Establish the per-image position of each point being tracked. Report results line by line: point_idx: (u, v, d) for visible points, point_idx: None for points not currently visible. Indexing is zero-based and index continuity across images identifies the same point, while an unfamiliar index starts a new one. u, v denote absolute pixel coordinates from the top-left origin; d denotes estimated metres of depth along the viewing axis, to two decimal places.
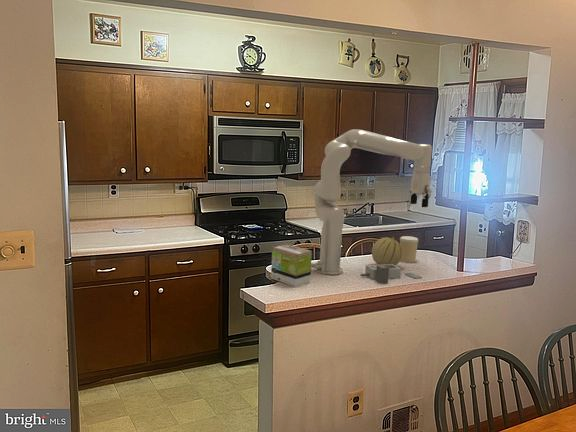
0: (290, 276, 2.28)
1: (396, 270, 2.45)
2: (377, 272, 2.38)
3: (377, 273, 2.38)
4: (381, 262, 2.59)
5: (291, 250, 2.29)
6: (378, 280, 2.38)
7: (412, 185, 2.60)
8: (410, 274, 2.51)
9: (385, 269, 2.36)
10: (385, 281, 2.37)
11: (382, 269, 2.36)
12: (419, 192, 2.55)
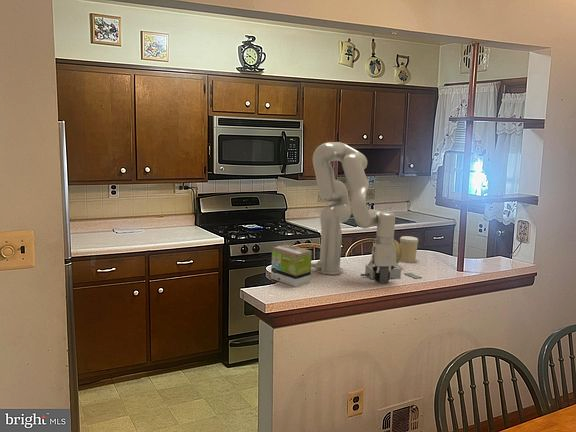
0: (290, 276, 2.28)
1: (396, 270, 2.45)
2: None
3: None
4: None
5: (291, 250, 2.29)
6: None
7: (380, 259, 2.34)
8: (410, 274, 2.51)
9: (385, 269, 2.36)
10: (385, 281, 2.37)
11: (382, 269, 2.36)
12: (392, 264, 2.36)
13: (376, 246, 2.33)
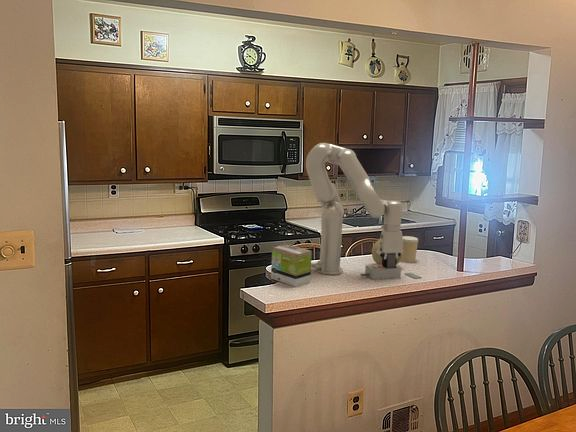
0: (290, 276, 2.28)
1: (396, 270, 2.45)
2: None
3: None
4: (381, 262, 2.59)
5: (291, 250, 2.29)
6: None
7: (388, 246, 2.43)
8: (410, 274, 2.52)
9: (392, 256, 2.45)
10: (392, 267, 2.46)
11: (389, 255, 2.45)
12: (399, 251, 2.45)
13: (384, 233, 2.43)
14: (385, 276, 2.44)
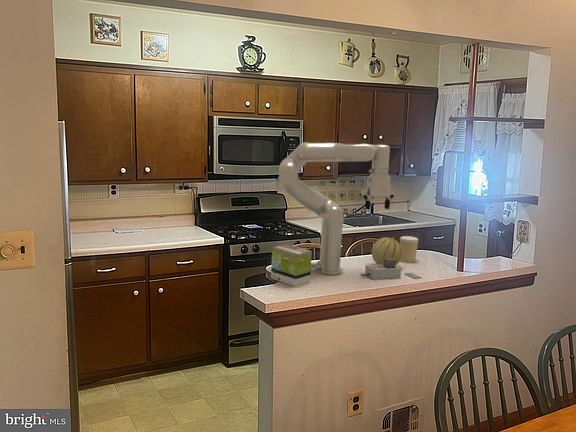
0: (290, 276, 2.28)
1: (396, 270, 2.45)
2: (384, 264, 2.48)
3: (385, 265, 2.48)
4: (381, 262, 2.59)
5: (291, 250, 2.29)
6: None
7: (375, 189, 2.44)
8: (410, 274, 2.52)
9: (392, 261, 2.46)
10: None
11: (389, 261, 2.45)
12: (387, 195, 2.46)
13: (371, 177, 2.43)
14: (385, 276, 2.44)
